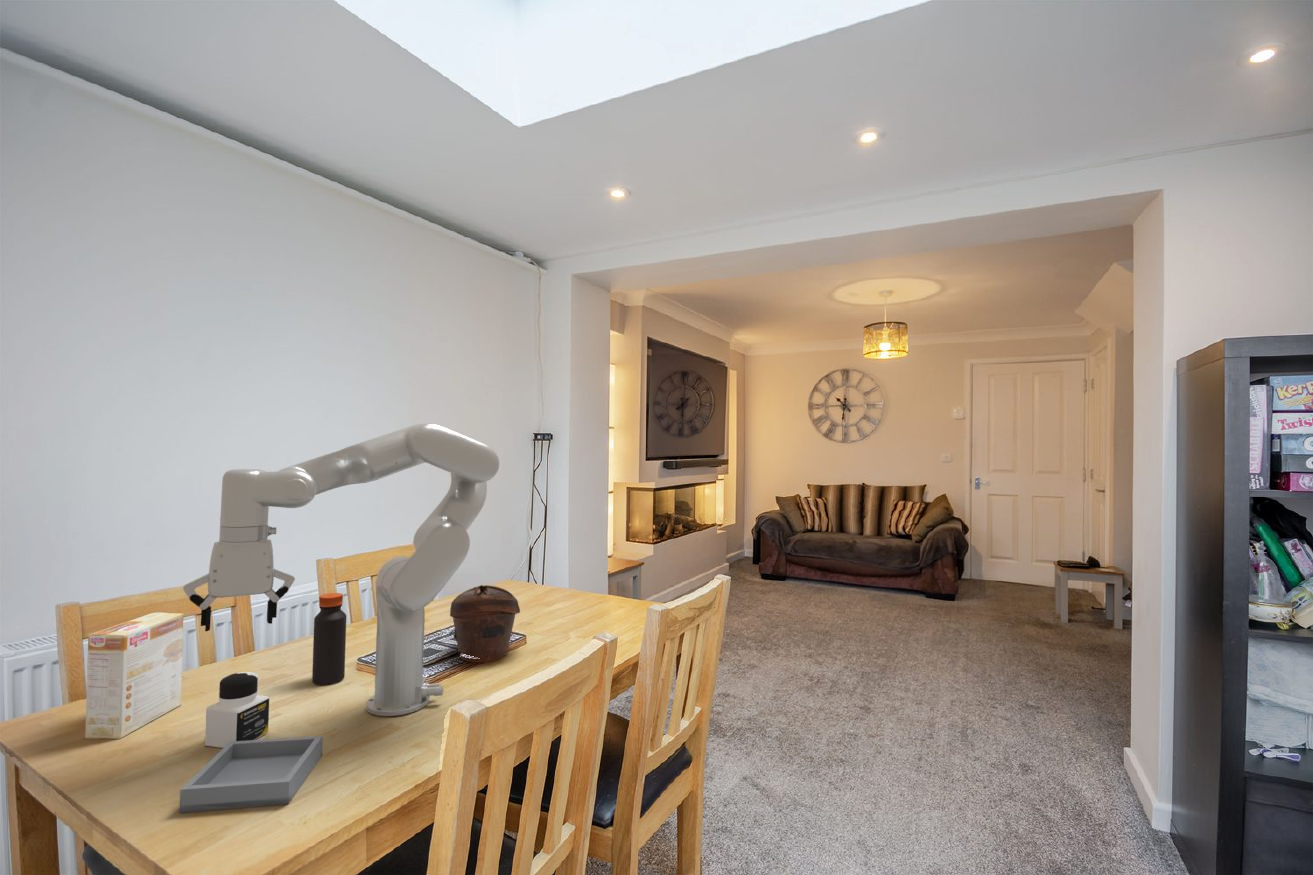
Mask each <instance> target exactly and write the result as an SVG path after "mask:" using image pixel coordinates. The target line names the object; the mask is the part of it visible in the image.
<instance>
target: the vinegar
mask: <svg viewBox="0 0 1313 875" xmlns="http://www.w3.org/2000/svg"><path fill="white" fill-rule="evenodd" d="M318 598H319V599H318V602H319V603H318V606H319V609H320V611H319V612H318V614H316V616H315V617H314V618H313V641H312V642H313V646H312V647H313V648H312V649H313V650H312V670H311V672H312V674H311V682H312V683H313V685H316V686H329V685H335V684H337V683H340V682H341V681H343V680H344V678H345V677H346V676H345V675H346V672H345V671H346V670H345V669H346V647H347V646H346V642H347V641H346V640H347V614H346V613H345V612H344V611H343V610H342V607H343V602H344V601H343V599H344V594H343V593H339V592H330V593H325V594H321V595H319V597H318Z"/></svg>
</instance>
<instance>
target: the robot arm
mask: <svg viewBox="0 0 1313 875" xmlns="http://www.w3.org/2000/svg"><path fill="white" fill-rule="evenodd" d="M424 463H426V464H429V465H431V466H434V467H436V468H438V469H441V470H443V471H446V472H448V473H450V486H449V489H448V491H447V493H446V494H445V495H444V497H443V498H442V500H441V501H440V502H439V504H437V506H436V507H435V508H434V509H433V511H432V512H431V513H430V515H428V517H427V518H426V519H425V520H424V521H423V522H422V524H420V526H419V527H418V528H417V529H416V531H415V533H414V536H413V540H412V541H413V542H412V543H413V547H414V549H415V551H414V552H413V553H412V554H411V556H410V557H409V556H403V555H402V556H395V557H392V558H390V559H389V560H387V561H386V562H385V563H384V564H383V565H382V566H380V568H379V571H378V572H377V576H376V581H375V597H376V613H377V614H376V637H375V639H376V640H375V641H376V643H375V672H374V673H375V674H374V675H375V676H374V694H373V695H372V696H371V697H369V698H368V700H367V701H366V705H365V707H366V711H367V712H368V713H370V714H371V715H374V716H379V717H395V716H396V717H397V716H402V715H403V716H404V715H407V714H411V713H414V712H417V711H419V710H421V709H423V708H424V707H426V706H427V705H428V703H429V702H430V699H431V698H430V696H433V697H439V696H440V697H441V696H443V694H444V686H443V685H442V686H440V682H434V683H429V682H427V677H426V676H424V673H423V672H424V649H425V648H424V644H425V643H424V642H425V623H426V622H425V620H426V619H425V618H426V617H425V614H426V613H425V607H427V606H428V605H429V604H430V603H431V602H432V601H433V600H435V598H436V597H437V596H438V594H439V593H440V592H441V591H442V589H443V588H444V587H445V585H447V583H448V582H449V581H450V579H451V578H452V577H453V575H455V573H456V572H457V570H458V569H459V568H460V566H461V565H462V563H463V562H464V561H465V559H466V558H467V555H468V553H469V550H470V547H471V546H470V544H471V540H470V535H469V533H468V529H469V528H470V526H471V525H472V524H473V522H474V520H476V518H477V517H478V515H479V514H480V513H481V511H482V509H483V507H484V505H485V502H486V499H487V498H486V497H487V492H488V488H487V487H488V482H489V481H490V480H493V479H494V477H495V476H496V475H497V473H498V472H499V468H500V458H499V456H498V454H497V452H496V451H495V450H494V448H492V447H491V446H489V445H488V444H486V443H483V442H481V441H478V440H476V439H473V438H470V437H468V436H466V435H463V434H460V433H459V432H457V431H453V430H452V429H449V428H447V427H446V426H443V425H439V424H436V423H420V424H419V423H418V424H414V425H411V426H408V427H404V428H402V429H399V430H395V431H392V432H390V433H386V434H382V435H379V436H377V437H374V438H371V439H368V440H365V441H361V442H358V443H355V444H353V445H349V446H347V447H346V446H345V448H342V449H340V450H339V449H338V450H336V451H333V452H330V453H327V454H324V455H321V456H318V457H315V458H310V459H309V460H306V461H302V462H299V463H296V464H293V465H290V466H287V467H284V468H281V469H279V470H278V471H266V470H263V469H262V470H261V469H252V468H251V469H246V468H245V469H244V468H241V469H239V468H238V469H237V468H236V469H229V470H227V471H226V472H224V473H223V476H222V481H221V496H220V497H221V500H220V515H219V516H220V518H219V539H218V541H216V542H214V543H213V546H212V548H211V549H212V550H211V554H210V560H209V566H208V568H209V569H208V573H206V574H204V575H202V576H201V577H198V578H196V579H194V580H192V581H190V582H187V583H186V584H184V585H183V587H182V588H183V591H184V593H185V594H186V596H187V597H188V599H189V601H190V602H191V603H192V604H194V605H195V606H197V607H198V608H199V609H200V610H201V613H200V615H201V616H200V627H204V626H205V628H204V631H205V632H209V631H210V630H211V619H212V618H211V617H212V616H211V615H212V606H211V605H212V603H214V602H215V600H216V599H218V598H219V599H222V598H233V597H234V598H235V597H245V596H255V595H261V594H262V595H263V594H264V595H265V596H266V597H267V598H268V600H267V605H266V608H267V611H266V622H267V624H268V625H270V624H273V619H274V618H275V619H276V618H277V615H278V614H277V612H278V602H279V601H280V599H282V597H284V596H285V595H286V594H287V593H288V592H289V589H290V588H291V587H292V585H293V583H294V582H295V580H296V578H295V576H294V575H292V574H289V573H286V572H283V571H281V570H278V569H276V568H274V549H273V542H272V540H271V539H268V538H269V537H270V536H272V535H277V527H275V526H274V527H272V526H270V525H269V510H270V509H269V507H272V508H273V507H274V508H285V509H297V508H298V509H299V508H302V507H304V506H307V505H308V504H310V503H311V501H313V499H314V498H315V496H316V495H319V494H322V493H326V492H329V491H331V490H334V489H335V490H336V489H337V488H341V487H345V486H349V485H350V486H351V485H358V484H367V483H371V482H374V481H378V480H381V479H384V478H386V477H389V476H391V475H394V474H396V473H399V472H402V471H404V470H408V469H411V468H413V467H416V466H419V465H421V464H424ZM274 578H277V579H279V580H281V581H283V584H282V585H281V586H280V588H278V589H277V591H275V590H274V589H273V587H274V581H275V579H274ZM205 584H207V590H208V594H207V595H205V597H202V596H201V595H200V594H198V593H197V591H196V589H197V588H199V587H201V586H203V585H205Z"/></svg>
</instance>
